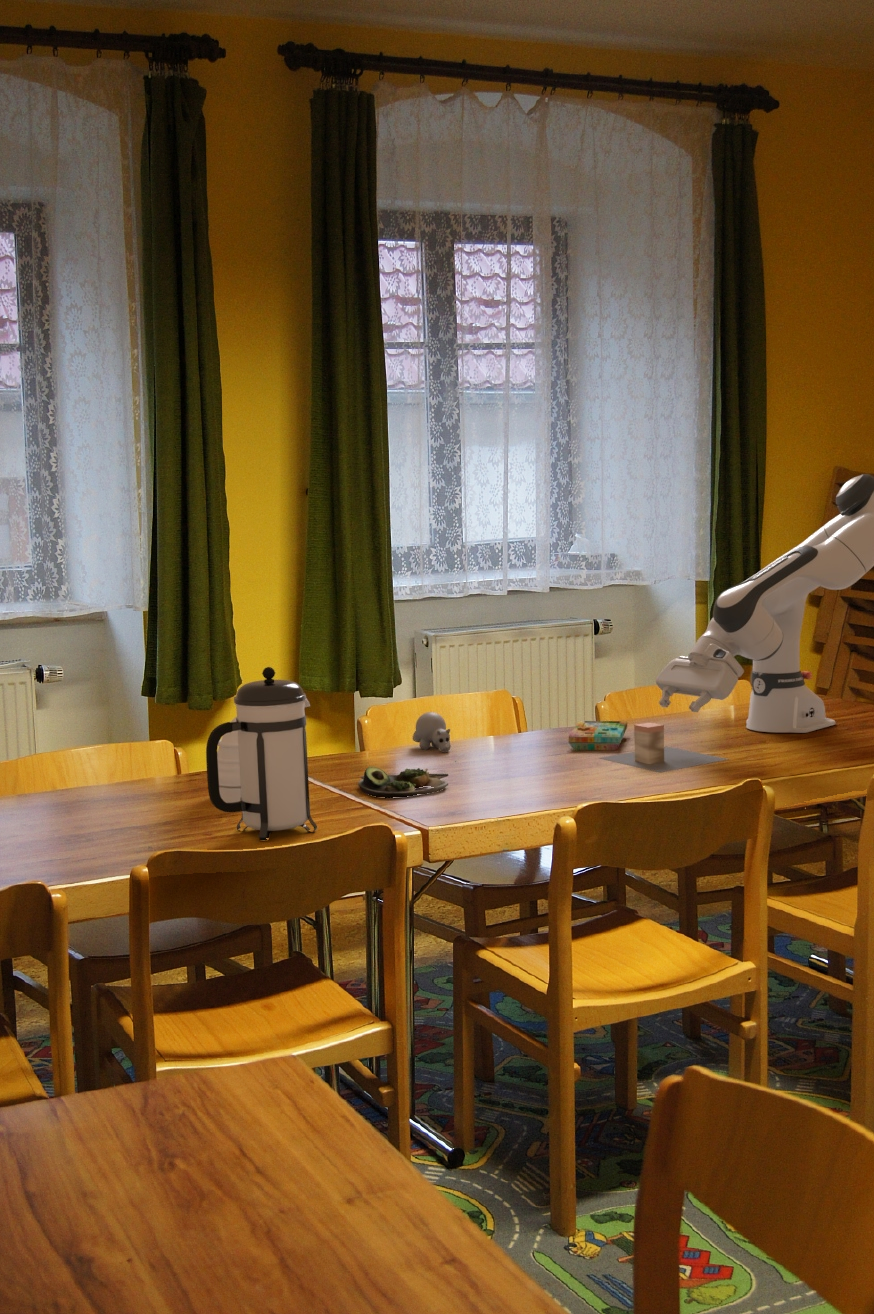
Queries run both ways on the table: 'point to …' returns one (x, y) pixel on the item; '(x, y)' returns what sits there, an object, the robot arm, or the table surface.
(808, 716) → the robot arm
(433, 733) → the round bodied animal figurine
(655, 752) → the birch block
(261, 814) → the coffee press
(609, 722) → the puzzle game
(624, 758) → the felt mat
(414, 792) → the salad plate
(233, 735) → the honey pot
